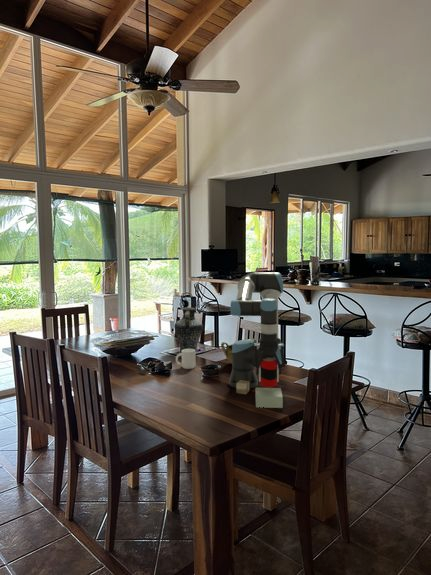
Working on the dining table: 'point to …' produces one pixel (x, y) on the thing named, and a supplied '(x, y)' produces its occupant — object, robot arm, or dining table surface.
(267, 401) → the green block
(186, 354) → the mug
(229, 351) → the olive yellow teapot
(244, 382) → the maple cube
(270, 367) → the soda can
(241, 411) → the dining table surface
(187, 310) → the jug
